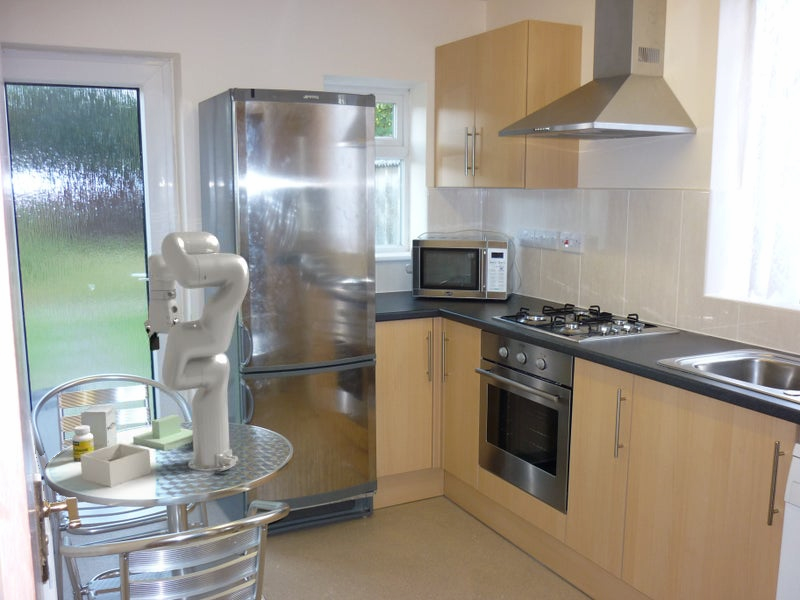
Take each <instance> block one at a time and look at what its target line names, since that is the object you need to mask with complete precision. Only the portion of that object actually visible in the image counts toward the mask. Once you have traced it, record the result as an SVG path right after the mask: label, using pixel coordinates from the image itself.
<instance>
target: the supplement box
mask: <svg viewBox="0 0 800 600" xmlns="http://www.w3.org/2000/svg"><path fill="white" fill-rule="evenodd" d="M80 420H81V425H88V426H90V432H89V433H91V434H92V435H93V442H94V451H95V450H98V449H102V448H105V447H108V446H111V445H115V444H118V440H117V439H118V438H117V437H118V435H117V419H116V406H115V405H94V406H93V405H92V406H91V405H90V406H89V407H88V408H86V409H85V410H83V411H81V412H80Z"/></svg>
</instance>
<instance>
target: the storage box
mask: <svg viewBox="0 0 800 600" xmlns="http://www.w3.org/2000/svg"><path fill="white" fill-rule="evenodd" d="M150 455H151V454H150V449H146V448H143V447H140V446H135V445H132V444H127V443H123V442H117V444H115V445H111V446H108V447H105V448H102V449H98V450H95V451H92V452H89V453H85V454H82V455H80V456H81V462H80V467H81V468H80V469H81V479H82V480H85V481H89V482H93V483H95V484H98V485H102V486H105V487H109V488H113V487H115V486H119V485H121V484H123V483H124V484H125V483H126V482H129V481H132V480H135V479H138V478H140V477H143V476H144V477H145V475H149V474H151V458H150V457H151V456H150ZM117 457H119V458H120V459H117V460H114V461H111V462H110V461H107V460H110V459H114V458H117Z"/></svg>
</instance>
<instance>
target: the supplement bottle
mask: <svg viewBox="0 0 800 600" xmlns="http://www.w3.org/2000/svg"><path fill="white" fill-rule="evenodd" d="M89 432H90V426H88V425H82V424H81V425H77V426H74V435H73V436H72V437H71V440H72V455H73V462H78V463H79V462H80V463H81V456H80V455H82V454H85V453H89V452H92V451H94V442H93V435H92V434H91V433H89Z"/></svg>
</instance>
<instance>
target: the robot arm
mask: <svg viewBox="0 0 800 600" xmlns="http://www.w3.org/2000/svg"><path fill="white" fill-rule="evenodd" d="M160 248H161V249H160V250H161V253H157V254H151V255H149V256H148V258H147V265H148V266H147V267H148V268H147V270H148V289H149V303H148V319H146V320H145V321H144V322H143V325H144V328H145V332H146V334H147V337H148V338H149V351H151V352H154V351H157V350H160V348H161V347H160V336H159V334H162V335H163V334H164V335H167V338H166V344H165V350H164V355H163V361H162V369H161V379H162V382H163V385H164V386H165V388H166V389H168V390H169V391H171V392H183V391H187V390H194V389H197V390H196V392H195V393H194V395H193V398H192V400H191V428H192V429H191V430H193V442H192V446H193V447H192V448H193V458H192V459H190V461H188V465H187V466H188V468H189V469H191V470H194V471H199V472H200V471H203V472H212V471H215V473H219V472H223V471H227V470H229V469H232V468H234V466H235V465H236V464H237V462H238V461H239V457H238V456H237V455H233V449H232V448H231V447H230V430H229V428H230V427H229V406H228V405H229V404H228V403H229V402H228V401H229V400H228V388H229V387H228V386H229V379H230V378H229V377H230V373H231V372H230V371H231V366H230V365H231V364H230V360H229V357H228V355H227V354H226V352H227V351H228V349H229V347H230V344H231V341H232V337H233V333H234V329H235V325H236V320H237V315H238V313H239V310H240V308H241V305H242V303H243V301H244V299H245V297H246V296H247V295H246V294H247V292H248V288H249V284H250V270H249V265H248V263H247V260H246V259H245V258H244V257H243V256H242V255H239V254H236V253H231V252H229V253H228V252H220V250H221V246H220V242H219V239H218V238H217V236H215V235H214V234H213V233H210V232H208V231H203V230H201V231H199V230H198V231H197V230H196V231H174V232H170V233H168V234H166V236H164V238H163V240H162V242H161V246H160ZM176 282H177V283H176ZM177 284H178V285H179V286H181V288H184V289H188V290H195V289H196V290H197V289H208V288H217V290H216V291H215V292H213V293H212V294H211V296H210V297H209V298H208V299H207V300H206V302H205V303H204V305H203V308H202V314H201V317H200V318H198V319H197V320H190V321H182V312H181V307H180V303H179V301H178V299H177V290H176V289H177V288H176V287H177V286H176V285H177Z"/></svg>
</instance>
